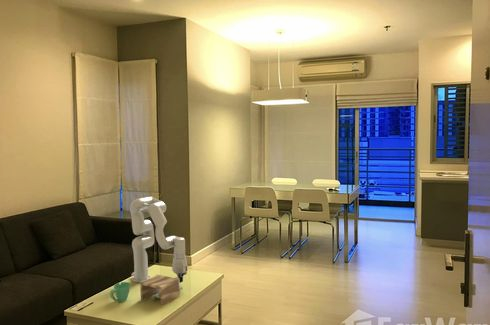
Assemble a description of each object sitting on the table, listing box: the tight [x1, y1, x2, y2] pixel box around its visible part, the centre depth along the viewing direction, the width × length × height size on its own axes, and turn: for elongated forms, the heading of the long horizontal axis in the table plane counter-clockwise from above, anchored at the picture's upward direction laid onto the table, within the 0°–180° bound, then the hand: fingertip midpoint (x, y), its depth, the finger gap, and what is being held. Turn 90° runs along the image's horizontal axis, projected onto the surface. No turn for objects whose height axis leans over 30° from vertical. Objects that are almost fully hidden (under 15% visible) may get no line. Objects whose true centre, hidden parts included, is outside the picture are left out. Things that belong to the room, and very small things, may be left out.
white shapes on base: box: [154, 276, 183, 300], centre depth 268 cm, size 7×20×8 cm, turn 151°
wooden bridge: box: [139, 274, 180, 306], centre depth 260 cm, size 18×16×12 cm
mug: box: [109, 281, 131, 302], centre depth 255 cm, size 15×10×10 cm
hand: (180, 281), depth 278 cm, fingers closed
